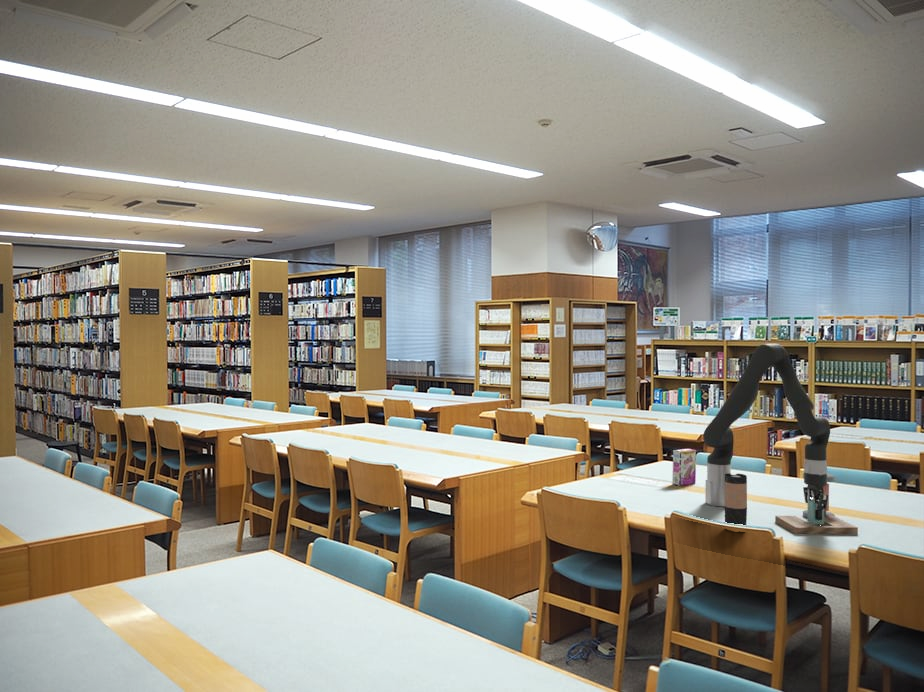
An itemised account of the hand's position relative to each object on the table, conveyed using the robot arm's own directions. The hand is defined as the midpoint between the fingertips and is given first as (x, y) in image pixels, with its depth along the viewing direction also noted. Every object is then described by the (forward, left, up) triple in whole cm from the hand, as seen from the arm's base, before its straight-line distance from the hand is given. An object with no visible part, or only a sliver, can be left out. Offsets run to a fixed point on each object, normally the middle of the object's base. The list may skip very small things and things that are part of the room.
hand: (815, 517), depth 251 cm
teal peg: (0, 0, -2) cm, 2 cm away
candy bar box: (-24, +75, -4) cm, 79 cm away
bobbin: (+9, +15, -4) cm, 18 cm away
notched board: (0, 0, -4) cm, 4 cm away
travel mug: (-30, -2, -4) cm, 30 cm away
